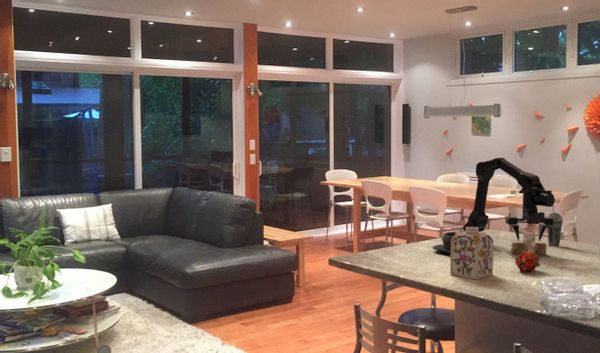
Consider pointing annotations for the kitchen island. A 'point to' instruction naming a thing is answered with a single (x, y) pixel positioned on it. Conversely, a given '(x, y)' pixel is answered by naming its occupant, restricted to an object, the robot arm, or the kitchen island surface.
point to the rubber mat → (538, 255)
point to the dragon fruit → (527, 261)
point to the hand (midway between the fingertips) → (528, 240)
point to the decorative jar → (471, 254)
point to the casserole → (445, 242)
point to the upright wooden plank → (529, 241)
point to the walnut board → (521, 247)
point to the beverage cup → (554, 229)
